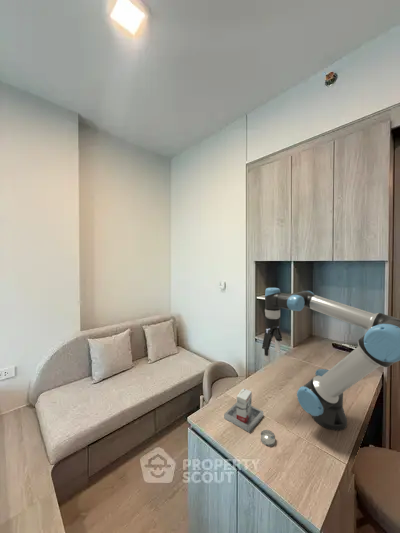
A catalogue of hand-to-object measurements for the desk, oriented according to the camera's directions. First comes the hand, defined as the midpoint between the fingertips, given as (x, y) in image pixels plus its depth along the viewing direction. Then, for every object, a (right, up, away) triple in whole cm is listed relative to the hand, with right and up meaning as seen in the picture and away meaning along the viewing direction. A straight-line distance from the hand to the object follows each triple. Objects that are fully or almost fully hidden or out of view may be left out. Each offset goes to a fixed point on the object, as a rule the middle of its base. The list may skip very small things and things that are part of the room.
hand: (272, 356), depth 119 cm
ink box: (-17, -27, -7) cm, 33 cm away
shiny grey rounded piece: (-9, -28, -21) cm, 36 cm away
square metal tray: (-17, -27, -7) cm, 33 cm away
